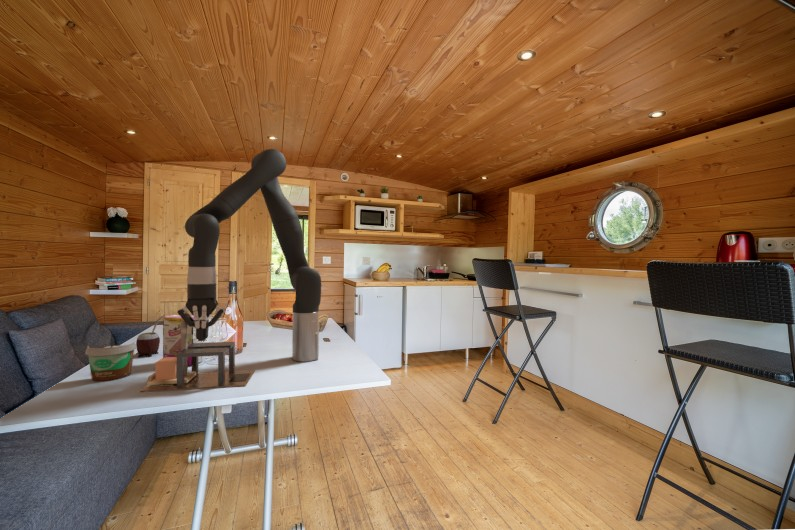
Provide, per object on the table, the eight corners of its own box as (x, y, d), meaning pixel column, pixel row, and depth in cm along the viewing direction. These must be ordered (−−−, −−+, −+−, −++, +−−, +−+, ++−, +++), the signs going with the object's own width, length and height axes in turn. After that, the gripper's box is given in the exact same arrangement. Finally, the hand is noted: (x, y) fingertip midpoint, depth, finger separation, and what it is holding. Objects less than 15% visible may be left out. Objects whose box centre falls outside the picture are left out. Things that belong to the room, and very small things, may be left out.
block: (182, 373, 104) (182, 356, 104) (174, 379, 99) (174, 361, 99) (163, 374, 103) (163, 357, 103) (155, 380, 98) (155, 362, 98)
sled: (196, 374, 106) (196, 318, 106) (186, 383, 99) (186, 323, 99) (159, 376, 104) (159, 319, 104) (147, 385, 97) (147, 324, 97)
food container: (78, 385, 98) (78, 350, 98) (86, 379, 104) (85, 345, 103) (132, 379, 104) (132, 346, 104) (136, 373, 109) (136, 341, 109)
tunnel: (255, 371, 112) (255, 340, 112) (245, 386, 99) (245, 351, 99) (162, 375, 107) (162, 343, 107) (139, 392, 94) (139, 355, 94)
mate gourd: (134, 355, 128) (134, 315, 128) (159, 351, 134) (159, 312, 134) (139, 359, 124) (139, 317, 123) (165, 354, 130) (165, 314, 129)
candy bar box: (161, 365, 117) (161, 317, 117) (172, 360, 122) (172, 314, 122) (192, 366, 116) (192, 317, 116) (202, 362, 121) (202, 315, 121)
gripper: (229, 281, 107) (229, 336, 108) (182, 281, 105) (182, 338, 105) (222, 283, 100) (222, 342, 100) (171, 283, 97) (171, 344, 98)
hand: (201, 340), depth 103 cm, fingers closed
